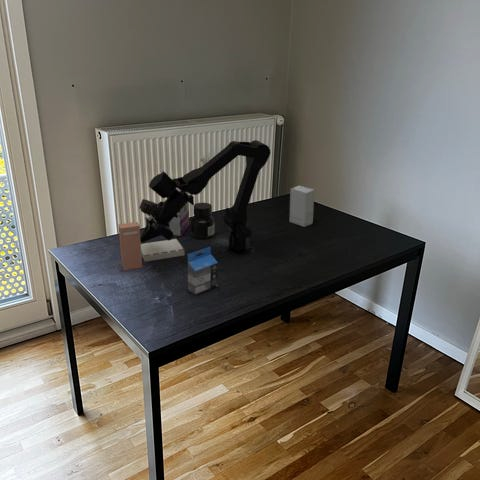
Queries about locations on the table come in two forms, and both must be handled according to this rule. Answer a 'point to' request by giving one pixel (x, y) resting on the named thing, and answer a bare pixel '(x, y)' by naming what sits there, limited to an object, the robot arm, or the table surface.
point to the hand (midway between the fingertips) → (140, 241)
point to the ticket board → (161, 250)
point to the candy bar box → (180, 220)
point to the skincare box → (301, 205)
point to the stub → (130, 245)
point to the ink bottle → (202, 221)
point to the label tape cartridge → (202, 271)
